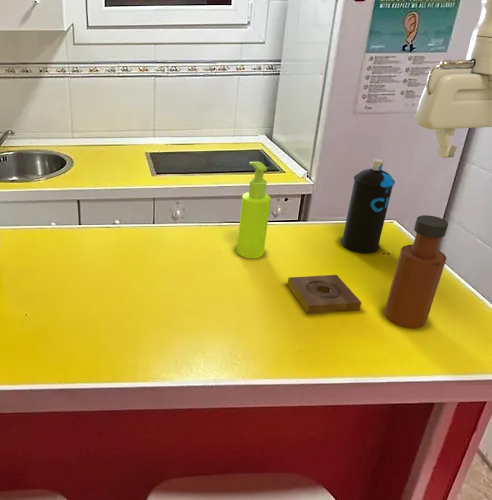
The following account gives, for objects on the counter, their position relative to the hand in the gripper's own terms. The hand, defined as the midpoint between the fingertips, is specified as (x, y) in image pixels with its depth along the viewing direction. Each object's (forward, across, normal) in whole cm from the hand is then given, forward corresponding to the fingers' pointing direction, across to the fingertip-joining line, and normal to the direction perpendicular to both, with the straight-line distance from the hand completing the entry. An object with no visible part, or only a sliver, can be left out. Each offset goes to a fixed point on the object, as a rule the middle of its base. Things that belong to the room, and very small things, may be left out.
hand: (474, 155), depth 78 cm
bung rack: (+30, -15, +10) cm, 35 cm away
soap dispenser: (+30, -23, +30) cm, 48 cm away
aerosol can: (+30, +3, +30) cm, 42 cm away
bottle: (+30, -3, +2) cm, 30 cm away
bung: (+15, -3, +1) cm, 16 cm away
